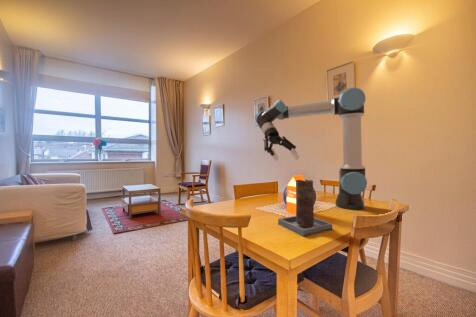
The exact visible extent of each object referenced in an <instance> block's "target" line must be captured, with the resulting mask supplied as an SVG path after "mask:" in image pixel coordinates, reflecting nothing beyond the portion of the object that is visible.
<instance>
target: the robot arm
mask: <svg viewBox="0 0 476 317" xmlns="http://www.w3.org/2000/svg"><path fill="white" fill-rule="evenodd" d="M366 100H367V98H366V93H365V92H364V91H363V90H362V89H361V88H358V87H355V86H354V87H353V86H352V87H348V88H346V89H344V90H343V91H342V92H341V93H340V95H339V97H334V98H332V99H330V100H324V101H317V102H307V103H301V104H300V103H299V104H295V105H288V106H287V105H286V103H285V102H284V101H283V100H282V99H278V100H276V101H275V102H274V103H272V105H271V106H270V107H269V108H267V109H266V110H260V111H257V112H256V113H255V115H254V120H255V122H256V124H257V126H258V128H259V129H260V131H261V132H262V133H263V135H264V137H263V142H264V144H263V145H264V148H263V150H264V152H267V153H268V154H269V155H271V157H272V158H273V160H274V161H275V162H278V160H279V158H280V157H279V155H278V154H277V152H276V151H275V149H274V148H273V145H279V146H282V147H284V148H285V149H287V150H289V152H290V154H291V156H292V157H293V159H294V160H295V161H298V160H299V158H300V156H299V154H298V153H297V151H296V148H297V146H296V145H295V144H293V143H292V142H291V141H290V140H289V139H287V138H286V137H285V135H283V136H280V133H279V131H278V129H277V128H276V126H275V125H274V124H273V122H274V121H275V120H277V119H278V120H282V121H283V120H286V119H293V118H302V117H308V116H309V117H311V116H320V115H322V116H323V115H328V114H332V115H334V116H335V115H336V116H338V115H339V118H341V119H342V152H343V153H342V155H343V156H342V157H343V164H342V165H341V166H340V168H339V170H338V173H339V174H338V175H339V178H338V181H339V183H338V194H337V197H336V199H335V207H336V206H337V207H338V208H341V209H346V210H363V209H364V208H365V202H364V198H363V196H362V193H363V192H364V191H365V190H366V189H367V186H368V180H367V178H366V167H365V165H363V160H362V159H363V157H362V155H363V154H362V117H364V116H365V102H366ZM269 142H270V143H269Z"/></svg>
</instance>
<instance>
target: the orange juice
mask: <svg viewBox="0 0 476 317" xmlns="http://www.w3.org/2000/svg"><path fill="white" fill-rule="evenodd" d="M296 180H304V181H306V179H305V176H304V175H303V174H296V175H292V177H291V178H290V180H289V181H288V183H287V184H286V213H287V212H288V213H287V214H290V213H291V215H293V214H295V215H294V216H296Z"/></svg>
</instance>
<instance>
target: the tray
mask: <svg viewBox="0 0 476 317" xmlns="http://www.w3.org/2000/svg"><path fill="white" fill-rule="evenodd" d="M277 225H279V226H281V227H283V228H285V229H287V230H288V231H291V232H293V233H295V234H297V235H299V236H301V237H309V236H312V235H317V234H321V233H325V232H330V231H333V224H332V223H331V222H328V221H325V220H323V219H319V218H317V217H315V216H314V225H313V226H312V227H308V228H305V227H303V226H300V225H298V224H297V223H296V215H292V216H286V217H279V218H278V219H277Z"/></svg>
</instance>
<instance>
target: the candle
mask: <svg viewBox="0 0 476 317" xmlns="http://www.w3.org/2000/svg"><path fill="white" fill-rule="evenodd" d="M305 180H306V179H305ZM295 216H296V223H297V224H298V225H300V226H303V227H305V228H308V227H312V226H313V225H314V217H315V216H314V181H313V180H312V179H309V180H306V181H304V180H296V215H295Z"/></svg>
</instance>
